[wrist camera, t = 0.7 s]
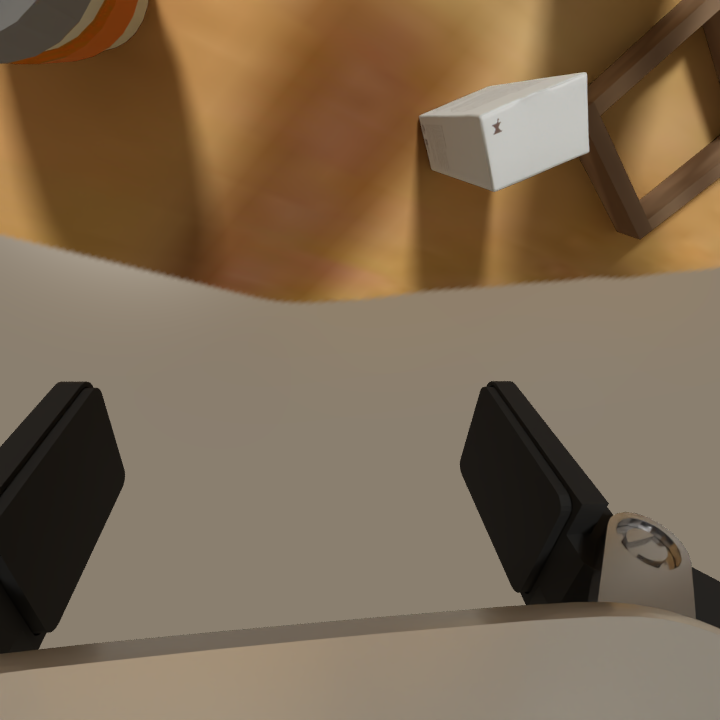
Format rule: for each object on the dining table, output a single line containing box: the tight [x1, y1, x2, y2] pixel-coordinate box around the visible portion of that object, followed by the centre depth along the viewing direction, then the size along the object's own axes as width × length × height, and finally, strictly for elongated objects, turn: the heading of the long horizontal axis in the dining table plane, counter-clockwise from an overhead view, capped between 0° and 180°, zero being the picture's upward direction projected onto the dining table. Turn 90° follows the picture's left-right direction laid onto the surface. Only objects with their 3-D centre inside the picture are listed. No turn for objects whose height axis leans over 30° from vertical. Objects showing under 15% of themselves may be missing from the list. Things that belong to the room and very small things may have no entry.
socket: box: [579, 0, 720, 239], centre depth 33 cm, size 13×13×3 cm
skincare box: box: [419, 72, 589, 192], centre depth 27 cm, size 6×4×12 cm
